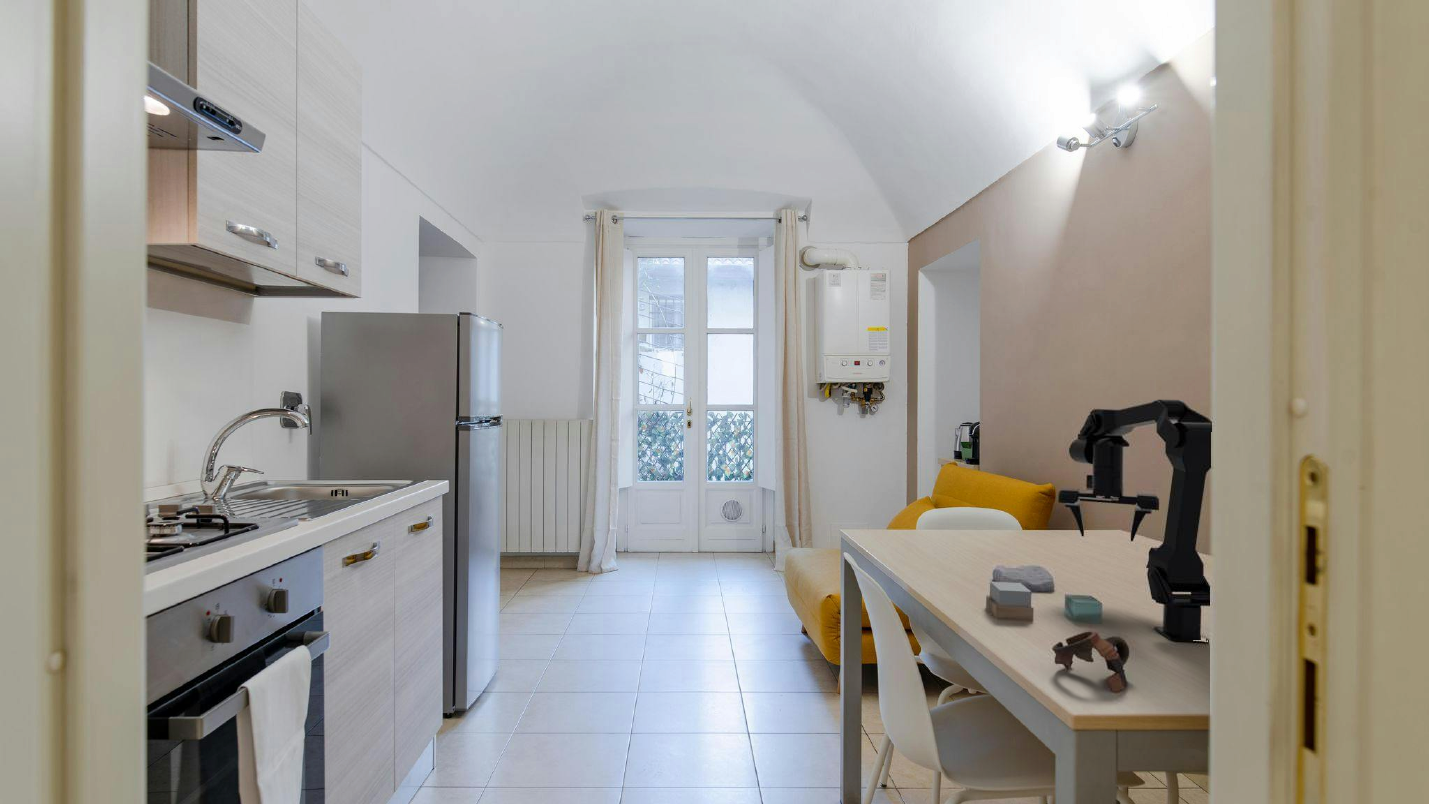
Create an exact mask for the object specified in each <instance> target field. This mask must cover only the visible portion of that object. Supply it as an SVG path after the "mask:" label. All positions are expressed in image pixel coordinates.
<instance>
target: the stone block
mask: <svg viewBox="0 0 1429 804" xmlns="http://www.w3.org/2000/svg"><path fill="white" fill-rule="evenodd" d="M992 579H993V580H994V582H1010V583H1021V584H1022V585H1024V586H1025V587H1026V588H1027V589H1029V590H1030V591H1032V590H1033V591H1035V592H1036V591H1037V592H1054V591H1055V582H1054V577H1053V576H1052V574H1051V573H1050V571H1049V570H1047V568H1046V567H1043V566H1040V565H1037V564H1036V565H1035V564H1032V565H1031V564H1030V565H1029V564H1028V565H1021V566H1017V567H1009V566H1008V567H1007V566H1004V565H1000V564H999V565H997V566H995V567H994V568H993V570H992Z"/></svg>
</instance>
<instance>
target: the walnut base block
mask: <svg viewBox="0 0 1429 804" xmlns="http://www.w3.org/2000/svg"><path fill="white" fill-rule="evenodd" d="M985 597H986V598H985V601H986V602H985V609H987V611H988V612H989V611H990V612H991V613H992V614H991V613H990V612H989V613H990V614H991V615H992V616H993V617H994V618H995V619H996V620H1009V621H1010V619H1011V620H1012V621H1026V622H1027V621H1028V622H1030V621H1031V622H1034V607H1033V605H1031V607H1022V606H1000V605H998V604H997V603H996V602H995V601H994V600H993V599H992V598H991V597H990V594H989V595H988V594H986V596H985Z"/></svg>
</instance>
